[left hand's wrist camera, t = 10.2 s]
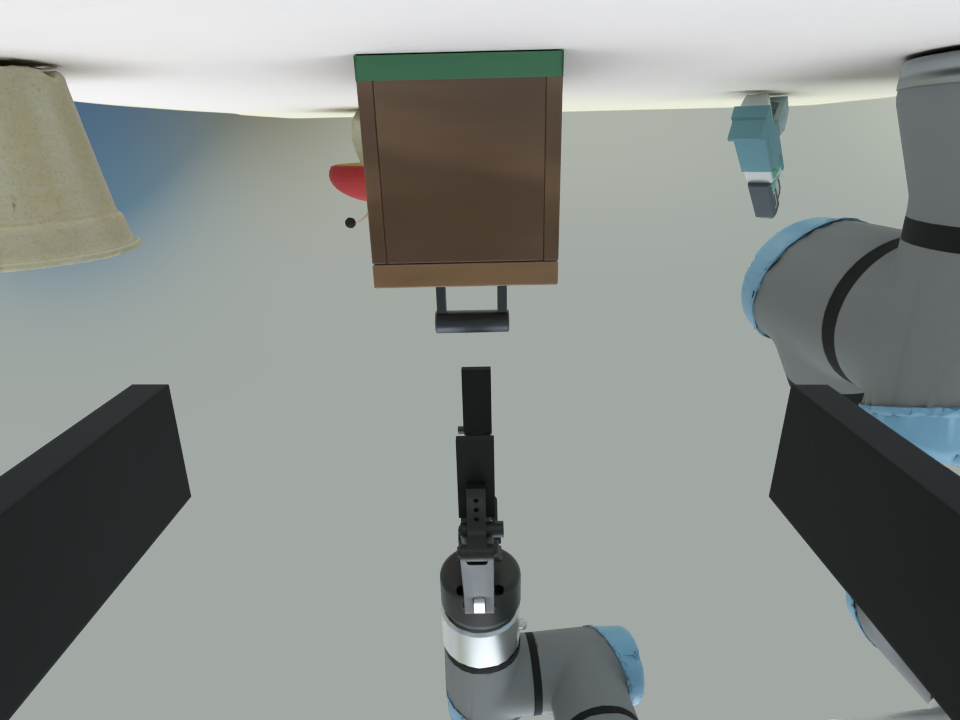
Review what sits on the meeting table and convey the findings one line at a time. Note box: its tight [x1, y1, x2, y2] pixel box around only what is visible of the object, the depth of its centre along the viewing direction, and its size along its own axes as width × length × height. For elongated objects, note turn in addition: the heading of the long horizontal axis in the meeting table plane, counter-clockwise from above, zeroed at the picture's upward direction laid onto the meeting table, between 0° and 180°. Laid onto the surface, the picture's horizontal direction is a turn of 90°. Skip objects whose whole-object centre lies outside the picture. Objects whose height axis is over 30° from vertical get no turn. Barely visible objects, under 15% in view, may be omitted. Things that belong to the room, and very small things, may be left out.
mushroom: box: [329, 111, 368, 228], centre depth 79 cm, size 16×16×15 cm
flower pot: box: [0, 65, 142, 273], centre depth 29 cm, size 9×9×9 cm
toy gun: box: [728, 94, 789, 219], centre depth 67 cm, size 4×19×10 cm
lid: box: [373, 260, 558, 333], centre depth 40 cm, size 17×10×8 cm, turn 0°
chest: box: [354, 50, 564, 264], centre depth 36 cm, size 16×10×10 cm, turn 0°
